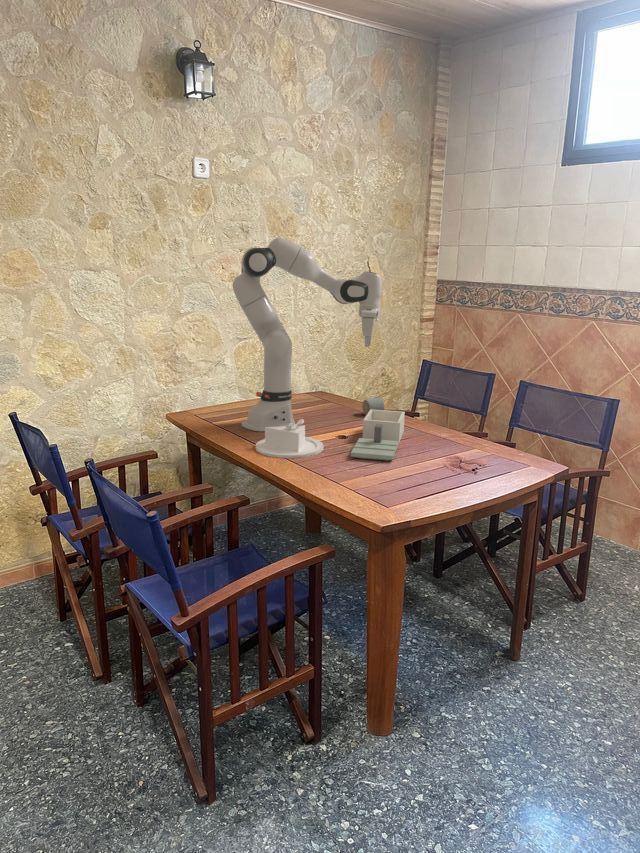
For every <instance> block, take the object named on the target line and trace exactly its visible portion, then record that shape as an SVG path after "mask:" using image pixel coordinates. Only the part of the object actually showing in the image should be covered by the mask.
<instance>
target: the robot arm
mask: <svg viewBox="0 0 640 853" xmlns="http://www.w3.org/2000/svg"><path fill="white" fill-rule="evenodd" d="M240 265H241V274H239V275H237V276H236V277H235V278H234V280H233V281H232V284H231V286H232V290H233V292H234V295H235V298H236V300H237V301H238V304H239V306H240V308H241V310H242V312H243V313H244V315H245V317H246V319H247V320H248V322H249V324H250V325H251V327H252V328H253V330H254V332H255V333H256V335H257V337H258V338H259V340H260V342H261V344H262V345H263V351H264V353H263V355H264V356H263V390H262V392H260V391H256V392H255V396H256V397H258V398H260V399H259V401H257V402H256V403H255V404H254V405H253V406H252V407H251V408H250V409H249V410H248V412H247V417H246V420H245V421H242V422H241V427H243V428H244V429H247V430H250V431H254V432H265V427H283V426H287V425H289V424H290V423H294V422H295V420H294V416H293V411H292V410H293V409H292V397H293V395H292V394H293V393H292V392H293V391H292V388H291V387H292V382H291V381H292V380H291V376H292V375H291V374H292V373H291V372H292V371H291V370H292V360H293V358H292V356H293V341H292V339H291V337H290V336H289V334H288V333H287V331H286V329H285V327H284V325H283V323H282V322H281V320H280V318H279V316H278V314H277V313H276V310H275V309H274V307H273V305H272V303H271V301H270V300H269V298H268V296H267V294H266V292H265V291H264V289H263V287H262V285H261V277H263V276H266V274H268V273H269V272H270V271H271V269H272V268H274V267H277V268H279V269H282V270H283V271H284V272H287V273H288V274H290V275H293V276H294V277H297V278H300V279H303V280H306V281H310V282H311V283H314V284H316V285H317V286H319V287H321V288H323V289H324V290H326V291H327V292H329V293H330V294H331V296H332V297H333V298H334V299H335V301H336V302H338V304H341V305H347V304H355V303H359V304H358V305H359V306H358V307H359V309H358V317H361V331H362V336H363V337H364V348H369V347H370V346H371V345H372V344H371V342H372V336H373V335H374V333H375V322H377V321H378V318H381V309H382V304H381V299H382V295H383V294H382V293H383V282H382V281H383V280H382V277H381V275H380V274H379V273H376V272H372V271H363V272H362V273H361V274H358V275H357V276H355V277H351V278H348V279H341V278H338V277H335V276H334V275H332V274H331V273H329V272H327V271H325V270H324V269H323V268H321V267H320V266H319V265H318V262H317V260H316V258H315V256H314V255H313V254H312V253H310V252H309V251H308V249H307V250H306V248H303V246H301V245H298V244H297V243H294V242H292V241H290V240H288V239H285V238H283V237H275V238H273V240H271V242H269V244H268V246H267V247H250V248H249V249H247V250H246V251H245V252H244V253H243V255H242V257H241V264H240Z"/></svg>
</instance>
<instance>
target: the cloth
mask: <svg viewBox="0 0 640 853" xmlns="http://www.w3.org/2000/svg"><path fill="white" fill-rule="evenodd" d="M463 458H465V457H464V456H461V455H457V454H455V455H449V456H445V457H443V458H441V459H440V463H441V462H443V463H442V465H443V464H444V465H443V466H444V467H445V466H446V467H445V468H447V467H448V468H450V469H451V471H452V470H454V469H452V467H453V468H456V469H457V468H458V469H460V470H461V469H463V470H465V471H468V472H470V473H471V470H472V469H478V470H479V468H478V466H476V465H466V464H477V465H488V466H489V464H488V461H487V460H485V459H465V460H463ZM443 459H446V460H445V461H442V460H443ZM448 459H449V460H448ZM462 460H463V461H462ZM444 462H451V463H444ZM459 463H460V464H459ZM461 463H465V464H461ZM448 468H447V469H448ZM450 469H449V470H450ZM454 471H456V470H454ZM454 471H453V472H454ZM465 471H464V472H465ZM456 472H459V471H456ZM456 472H455V473H456ZM473 472H474V473H477V474H478V472H477V471H473ZM459 473H461V472H459ZM461 474H463V473H461Z"/></svg>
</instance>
